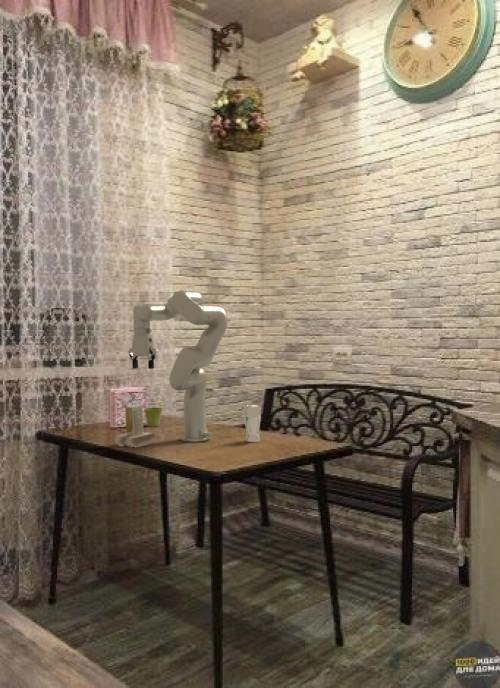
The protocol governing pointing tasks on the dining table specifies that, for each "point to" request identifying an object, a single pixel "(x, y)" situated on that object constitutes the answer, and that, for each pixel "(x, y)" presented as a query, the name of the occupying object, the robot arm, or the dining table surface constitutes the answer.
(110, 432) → the dining table surface
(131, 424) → the skincare box
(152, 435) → the birch base block
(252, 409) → the beer glass
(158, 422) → the plant pot
